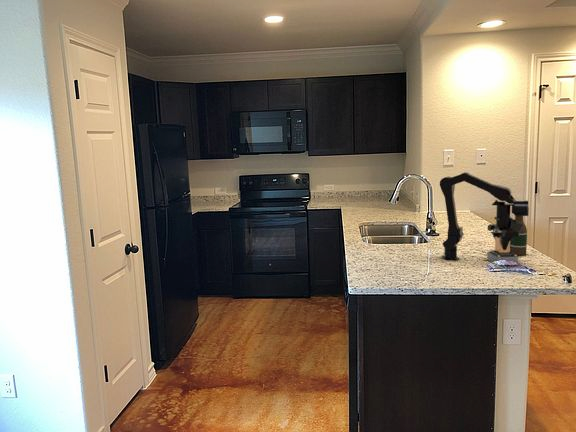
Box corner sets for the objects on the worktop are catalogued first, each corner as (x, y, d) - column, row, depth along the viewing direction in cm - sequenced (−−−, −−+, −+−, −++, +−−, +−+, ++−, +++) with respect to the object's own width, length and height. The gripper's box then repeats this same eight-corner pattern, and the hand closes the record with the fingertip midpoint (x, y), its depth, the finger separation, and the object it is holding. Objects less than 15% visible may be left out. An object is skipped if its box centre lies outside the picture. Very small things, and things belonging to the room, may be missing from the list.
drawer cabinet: (487, 260, 222) (487, 249, 221) (505, 259, 222) (506, 249, 221) (497, 266, 211) (498, 255, 210) (517, 265, 211) (518, 254, 211)
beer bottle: (512, 251, 236) (514, 204, 233) (529, 254, 231) (530, 205, 227) (506, 254, 231) (507, 206, 227) (523, 257, 225) (524, 207, 222)
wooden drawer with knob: (494, 253, 218) (495, 233, 217) (504, 252, 218) (505, 233, 217) (499, 255, 214) (500, 235, 212) (509, 255, 214) (510, 235, 213)
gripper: (531, 217, 204) (530, 252, 207) (510, 211, 223) (509, 243, 225) (506, 218, 204) (505, 253, 206) (487, 212, 223) (486, 244, 225)
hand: (502, 248), depth 216 cm, fingers closed on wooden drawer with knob, 5 cm apart
